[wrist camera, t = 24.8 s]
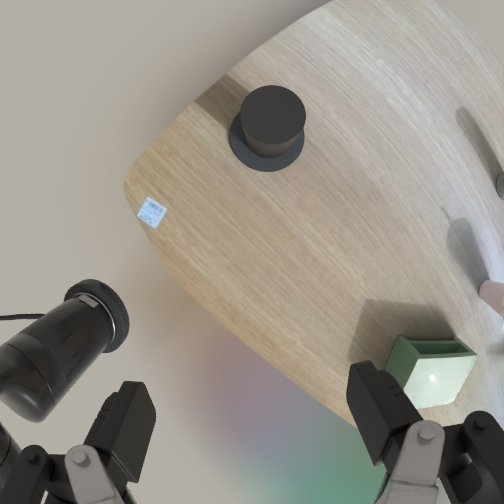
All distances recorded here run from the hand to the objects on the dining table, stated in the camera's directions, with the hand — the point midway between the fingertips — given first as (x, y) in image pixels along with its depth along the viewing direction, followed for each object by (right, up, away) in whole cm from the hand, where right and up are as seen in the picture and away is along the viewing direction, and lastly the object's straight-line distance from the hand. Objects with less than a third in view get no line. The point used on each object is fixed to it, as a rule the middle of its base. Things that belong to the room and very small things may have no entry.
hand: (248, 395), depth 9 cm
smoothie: (+41, -1, +26) cm, 49 cm away
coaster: (+2, +19, +22) cm, 29 cm away
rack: (+29, -13, +28) cm, 43 cm away
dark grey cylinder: (+2, +19, +22) cm, 29 cm away
